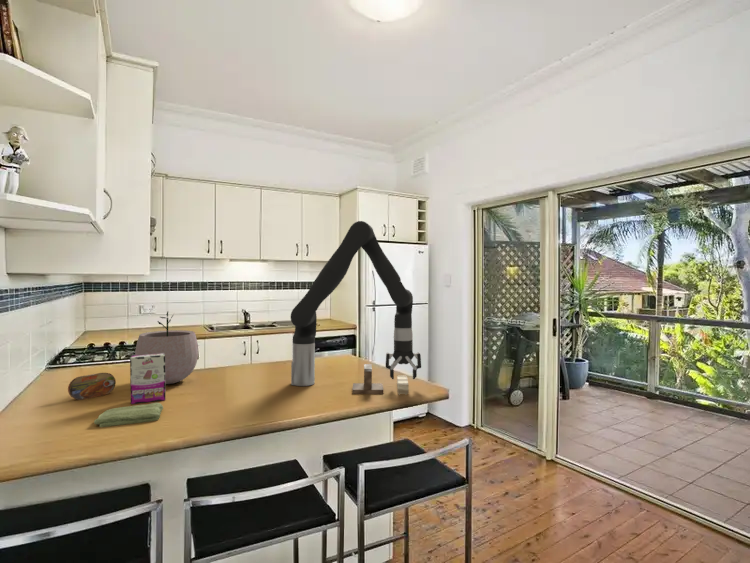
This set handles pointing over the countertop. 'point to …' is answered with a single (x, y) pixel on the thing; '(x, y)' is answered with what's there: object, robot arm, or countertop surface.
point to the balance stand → (367, 383)
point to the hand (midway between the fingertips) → (403, 378)
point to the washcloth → (130, 415)
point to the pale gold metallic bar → (402, 384)
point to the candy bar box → (147, 378)
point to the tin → (91, 386)
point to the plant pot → (171, 351)
